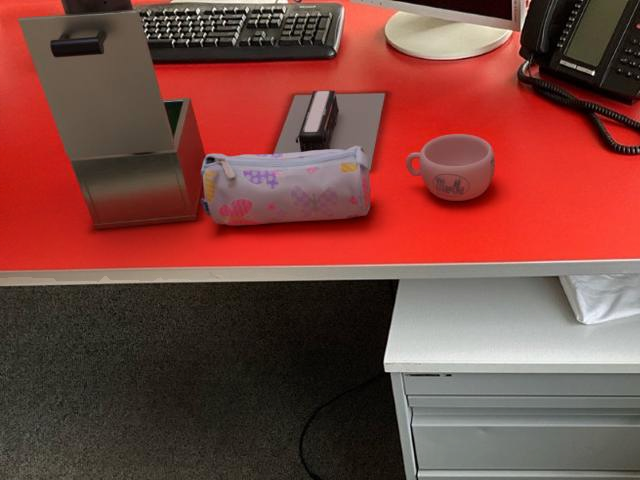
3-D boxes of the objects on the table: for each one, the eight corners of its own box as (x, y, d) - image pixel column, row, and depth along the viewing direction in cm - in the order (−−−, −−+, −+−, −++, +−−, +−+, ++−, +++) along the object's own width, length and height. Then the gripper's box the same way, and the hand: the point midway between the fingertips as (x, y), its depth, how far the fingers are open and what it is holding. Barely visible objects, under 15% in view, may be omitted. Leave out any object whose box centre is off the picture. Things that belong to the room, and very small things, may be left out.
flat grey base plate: (266, 173, 125) (260, 145, 122) (295, 95, 143) (290, 69, 141) (370, 170, 125) (366, 142, 122) (385, 93, 143) (382, 67, 141)
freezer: (116, 170, 126) (94, 104, 120) (207, 162, 127) (190, 97, 121) (95, 229, 115) (69, 160, 108) (196, 220, 116) (176, 151, 109)
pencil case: (207, 237, 113) (188, 169, 106) (221, 201, 119) (204, 135, 113) (373, 231, 113) (364, 164, 107) (377, 196, 120) (369, 130, 113)
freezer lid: (19, 17, 98) (6, 33, 94) (138, 9, 99) (130, 24, 95) (69, 156, 108) (59, 175, 104) (175, 147, 109) (170, 166, 105)
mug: (501, 174, 123) (500, 134, 119) (488, 212, 116) (487, 171, 112) (416, 168, 125) (413, 129, 121) (399, 205, 118) (394, 165, 114)
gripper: (136, 13, 101) (173, 145, 112) (122, -25, 111) (157, 100, 121) (65, 24, 99) (110, 157, 110) (58, -16, 108) (100, 110, 119)
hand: (135, 127), depth 115 cm, fingers open, 8 cm apart
